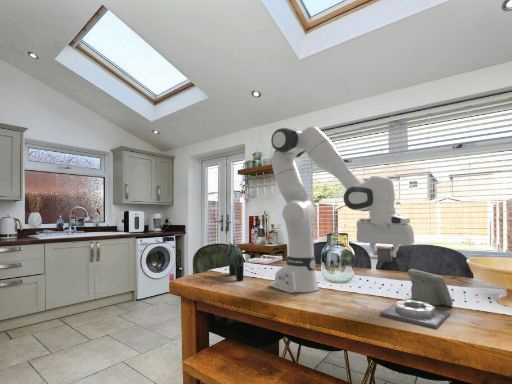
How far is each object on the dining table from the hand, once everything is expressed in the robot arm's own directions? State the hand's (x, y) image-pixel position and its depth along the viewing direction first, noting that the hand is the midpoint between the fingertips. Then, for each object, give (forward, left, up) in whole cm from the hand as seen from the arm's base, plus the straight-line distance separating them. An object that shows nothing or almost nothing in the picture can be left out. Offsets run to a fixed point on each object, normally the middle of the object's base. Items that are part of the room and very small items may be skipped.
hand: (384, 256), depth 110 cm
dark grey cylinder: (0, 0, -2) cm, 2 cm away
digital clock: (+11, +12, -17) cm, 24 cm away
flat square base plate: (+12, -7, -17) cm, 22 cm away
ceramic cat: (-75, -8, -17) cm, 78 cm away
